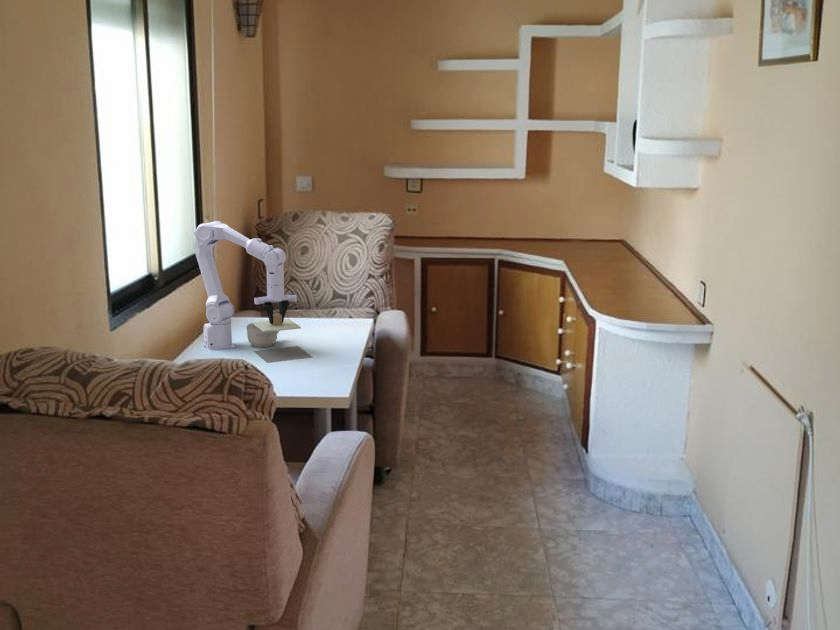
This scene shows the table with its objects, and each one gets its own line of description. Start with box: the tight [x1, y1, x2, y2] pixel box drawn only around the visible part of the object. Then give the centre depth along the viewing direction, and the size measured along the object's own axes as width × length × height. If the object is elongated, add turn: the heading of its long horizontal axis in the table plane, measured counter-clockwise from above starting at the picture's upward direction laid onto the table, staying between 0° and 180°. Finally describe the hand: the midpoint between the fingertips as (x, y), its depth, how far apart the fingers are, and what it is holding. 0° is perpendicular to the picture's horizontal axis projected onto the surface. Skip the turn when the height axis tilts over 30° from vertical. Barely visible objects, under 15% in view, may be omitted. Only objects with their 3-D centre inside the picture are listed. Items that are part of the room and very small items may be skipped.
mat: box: [253, 345, 313, 364], centre depth 289 cm, size 16×16×1 cm
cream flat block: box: [252, 312, 302, 332], centre depth 290 cm, size 13×13×4 cm
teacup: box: [245, 322, 280, 348], centre depth 301 cm, size 14×11×8 cm
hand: (276, 322), depth 291 cm, fingers closed on cream flat block, 3 cm apart
